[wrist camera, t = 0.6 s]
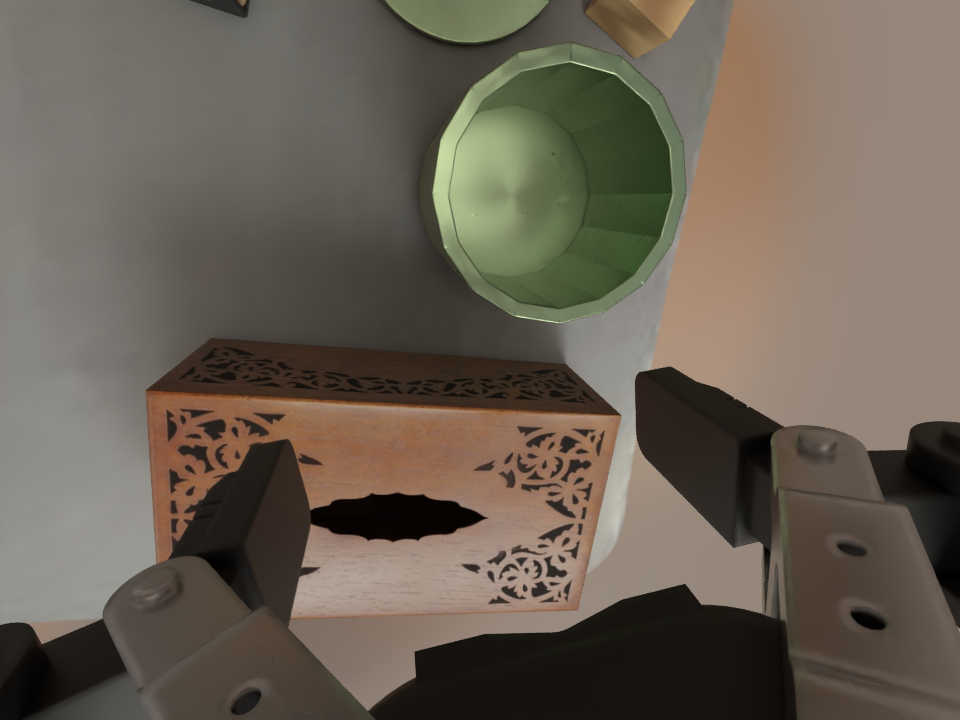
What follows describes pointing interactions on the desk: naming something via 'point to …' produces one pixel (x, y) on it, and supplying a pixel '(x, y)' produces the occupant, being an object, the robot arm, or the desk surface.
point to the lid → (467, 18)
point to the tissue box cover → (398, 471)
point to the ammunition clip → (228, 6)
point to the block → (638, 21)
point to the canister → (555, 183)
